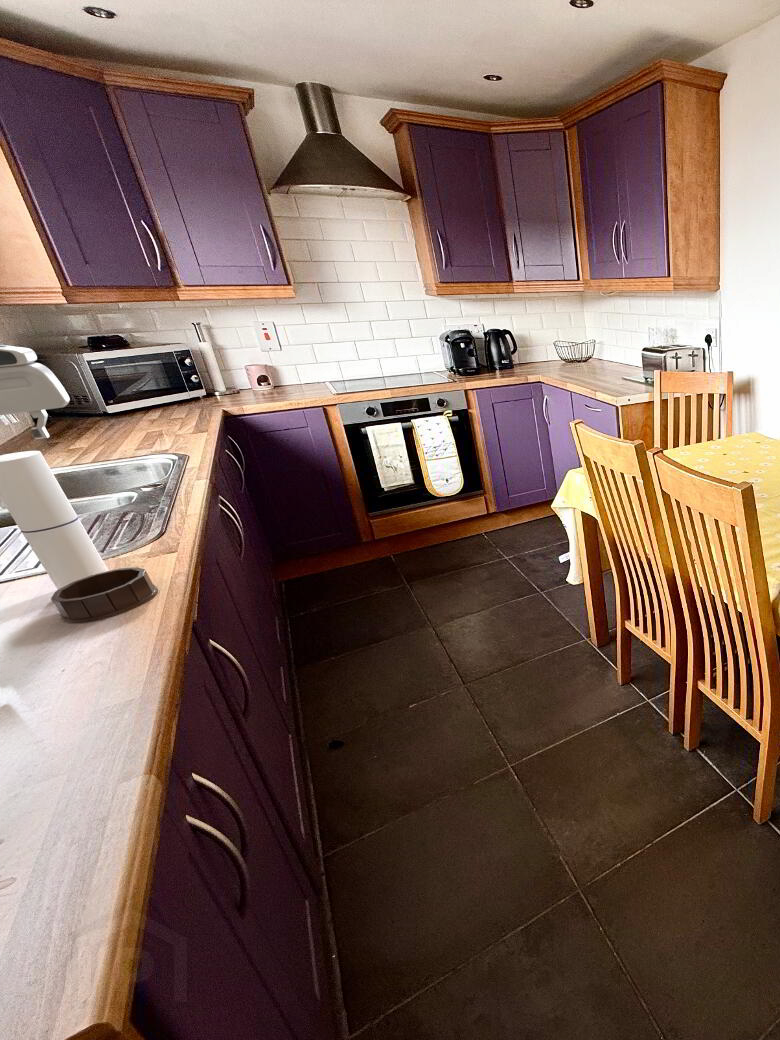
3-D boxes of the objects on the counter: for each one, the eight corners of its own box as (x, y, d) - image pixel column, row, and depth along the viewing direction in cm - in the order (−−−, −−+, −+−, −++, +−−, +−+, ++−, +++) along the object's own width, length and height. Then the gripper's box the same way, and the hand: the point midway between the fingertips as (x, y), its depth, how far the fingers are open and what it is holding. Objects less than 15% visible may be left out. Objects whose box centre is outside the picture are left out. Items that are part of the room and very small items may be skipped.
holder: (53, 632, 94) (39, 610, 92) (70, 602, 103) (58, 582, 101) (154, 605, 100) (142, 584, 99) (161, 579, 110) (151, 559, 108)
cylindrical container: (66, 598, 104) (-17, 465, 94) (54, 589, 108) (-27, 460, 97) (118, 581, 110) (45, 453, 99) (105, 573, 113) (34, 448, 102)
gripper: (-165, 369, 83) (-101, 462, 89) (36, 351, 94) (81, 435, 100) (-144, 365, 88) (-84, 453, 94) (46, 348, 99) (89, 428, 105)
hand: (3, 443), depth 97 cm, fingers open, 8 cm apart
